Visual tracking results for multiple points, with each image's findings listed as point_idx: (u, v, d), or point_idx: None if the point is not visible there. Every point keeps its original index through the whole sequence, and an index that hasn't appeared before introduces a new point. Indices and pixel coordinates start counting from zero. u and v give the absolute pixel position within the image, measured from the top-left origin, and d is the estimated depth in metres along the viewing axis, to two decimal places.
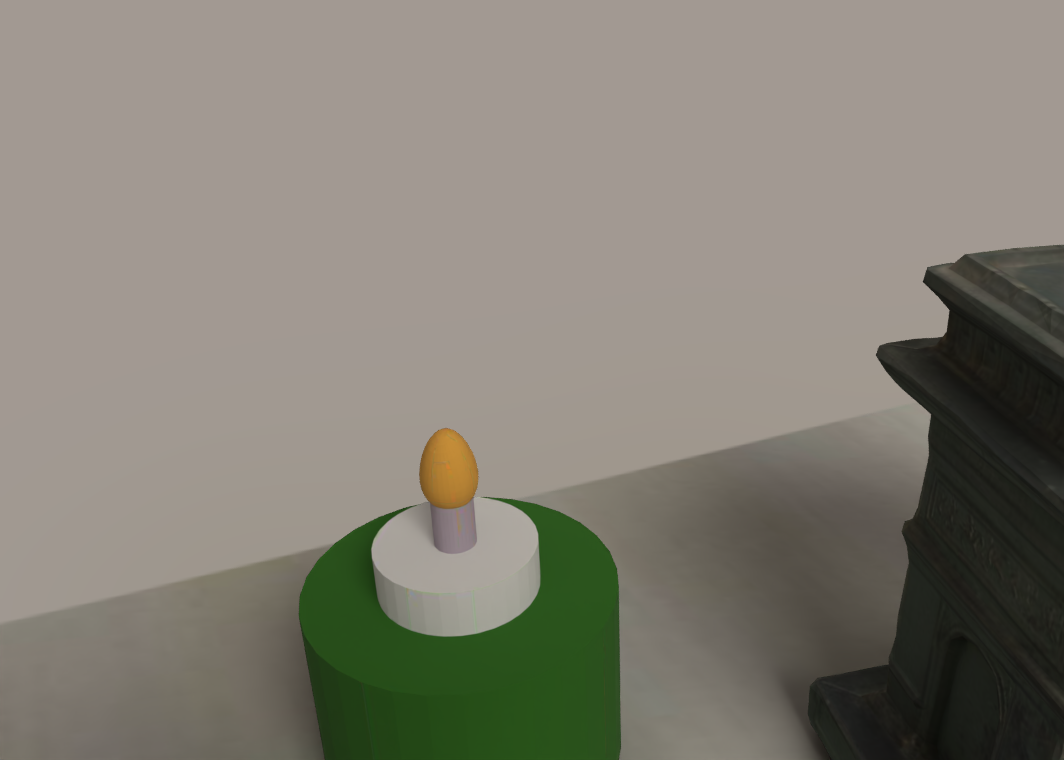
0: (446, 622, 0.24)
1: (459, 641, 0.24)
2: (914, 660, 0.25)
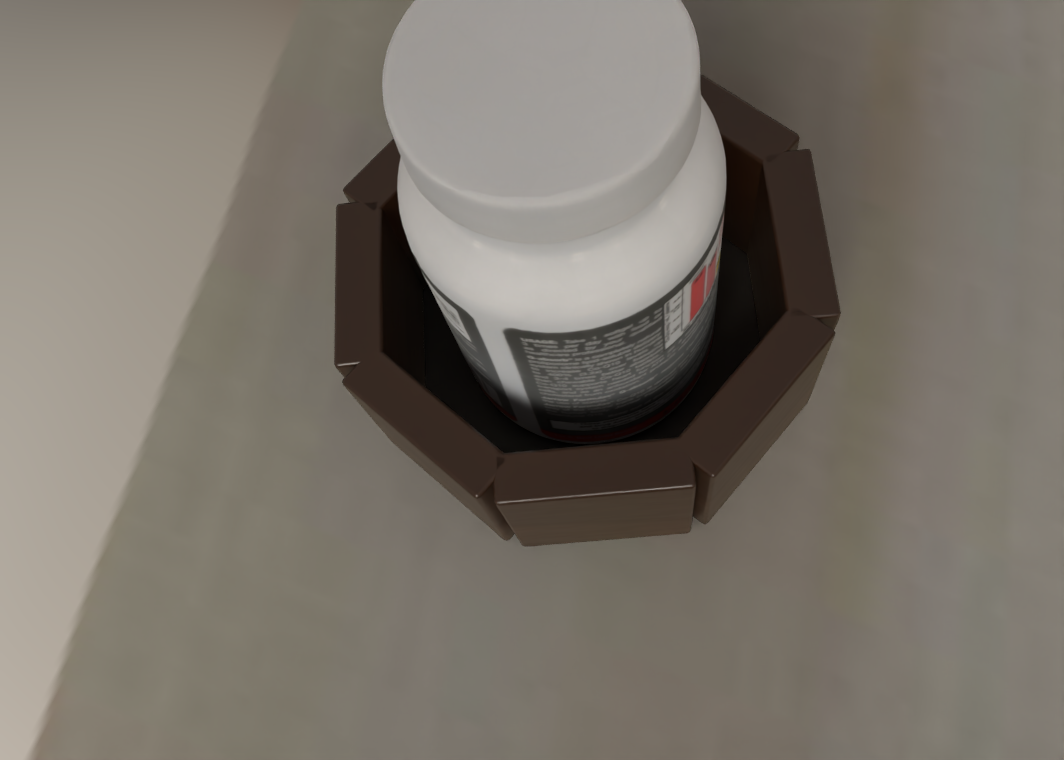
0: None
1: None
2: None
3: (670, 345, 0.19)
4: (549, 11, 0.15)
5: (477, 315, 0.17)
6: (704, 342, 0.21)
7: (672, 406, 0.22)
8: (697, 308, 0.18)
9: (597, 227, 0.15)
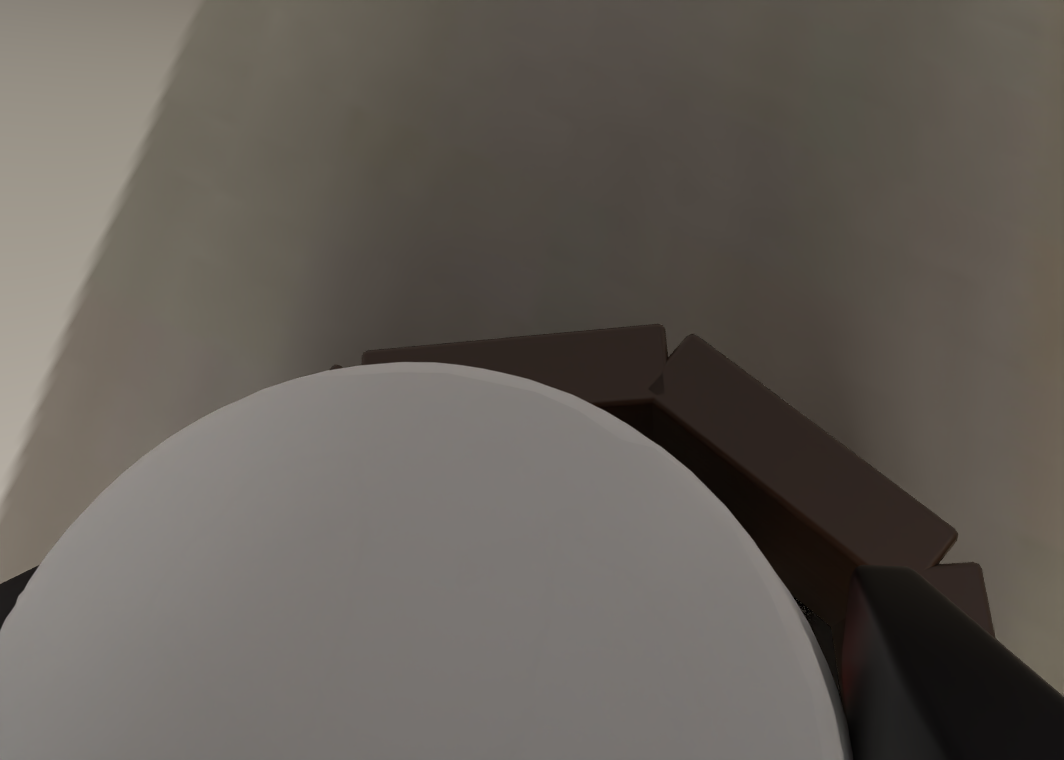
0: None
1: None
2: None
3: None
4: (415, 611, 0.05)
5: None
6: None
7: None
8: None
9: None
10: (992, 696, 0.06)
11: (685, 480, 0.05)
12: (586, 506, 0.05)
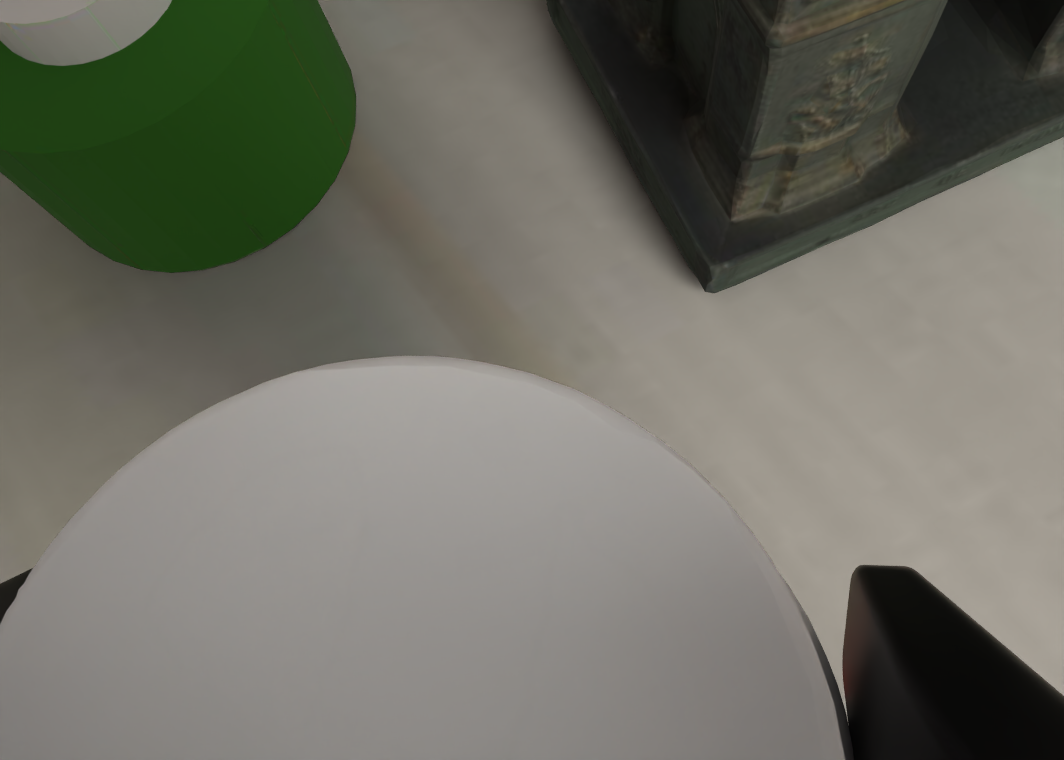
0: (77, 48, 0.20)
1: (103, 66, 0.20)
2: None
3: None
4: (415, 603, 0.05)
5: None
6: None
7: None
8: None
9: None
10: (993, 697, 0.06)
11: (685, 473, 0.05)
12: (586, 499, 0.05)
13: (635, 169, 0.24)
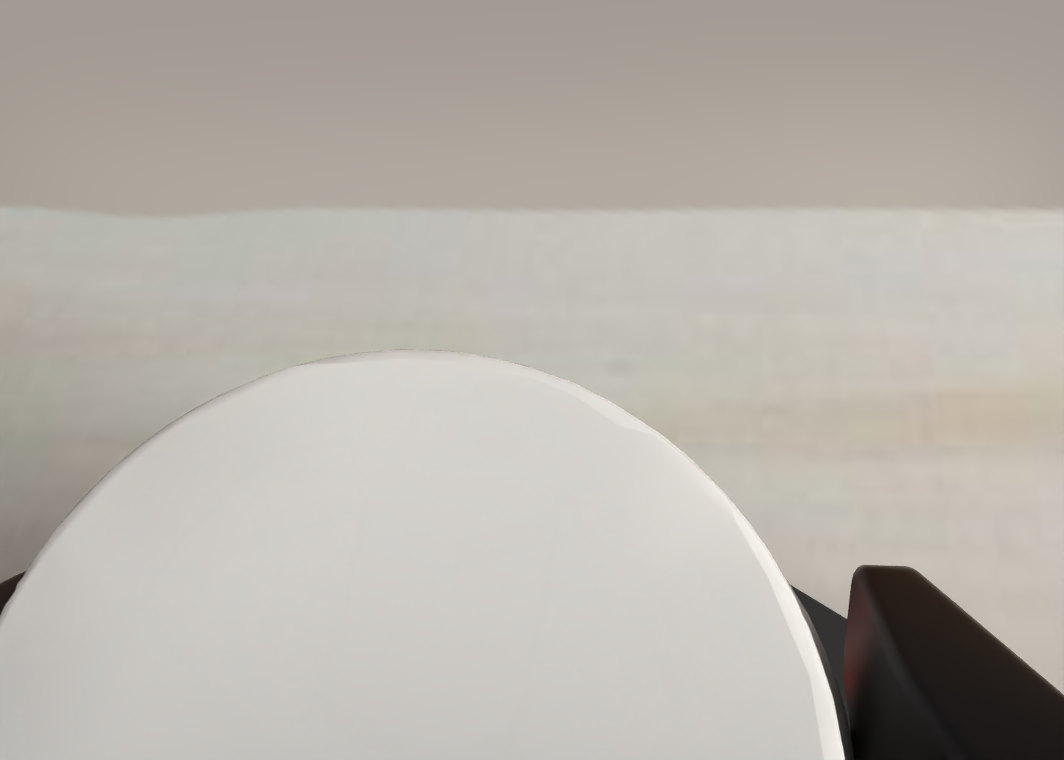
0: None
1: None
2: None
3: None
4: (414, 597, 0.05)
5: None
6: None
7: None
8: None
9: None
10: (995, 697, 0.06)
11: (684, 466, 0.05)
12: (585, 493, 0.05)
13: None
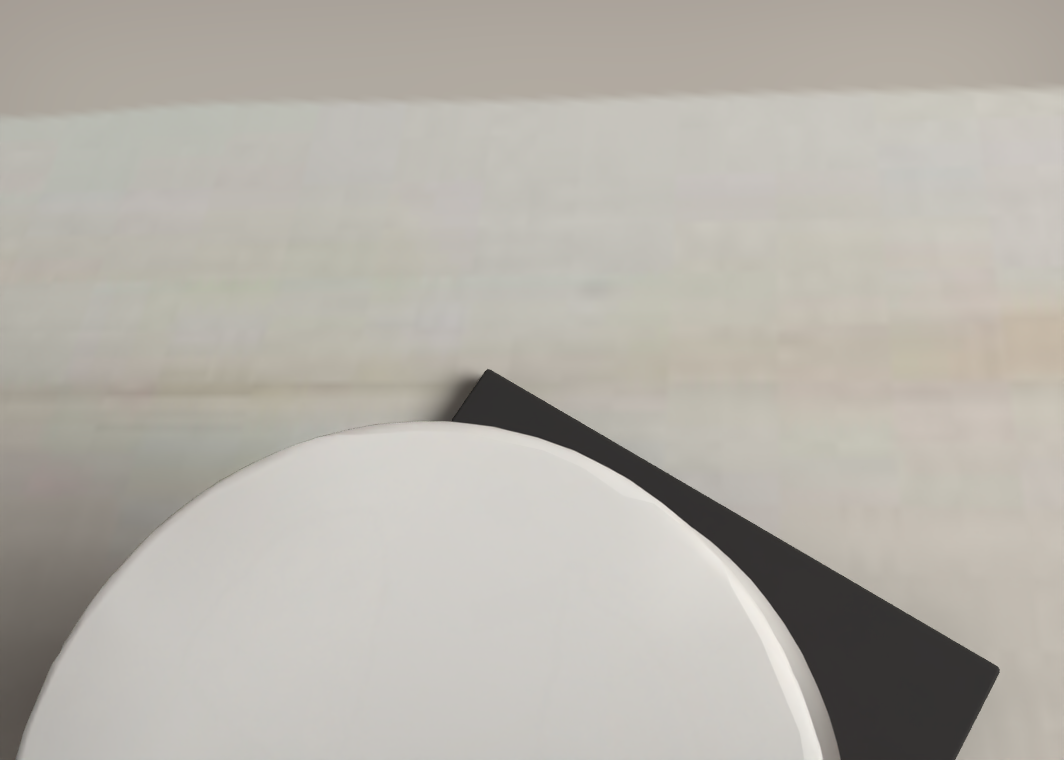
0: None
1: None
2: None
3: None
4: (434, 657, 0.06)
5: None
6: None
7: None
8: None
9: None
10: None
11: (683, 534, 0.06)
12: (591, 559, 0.06)
13: None
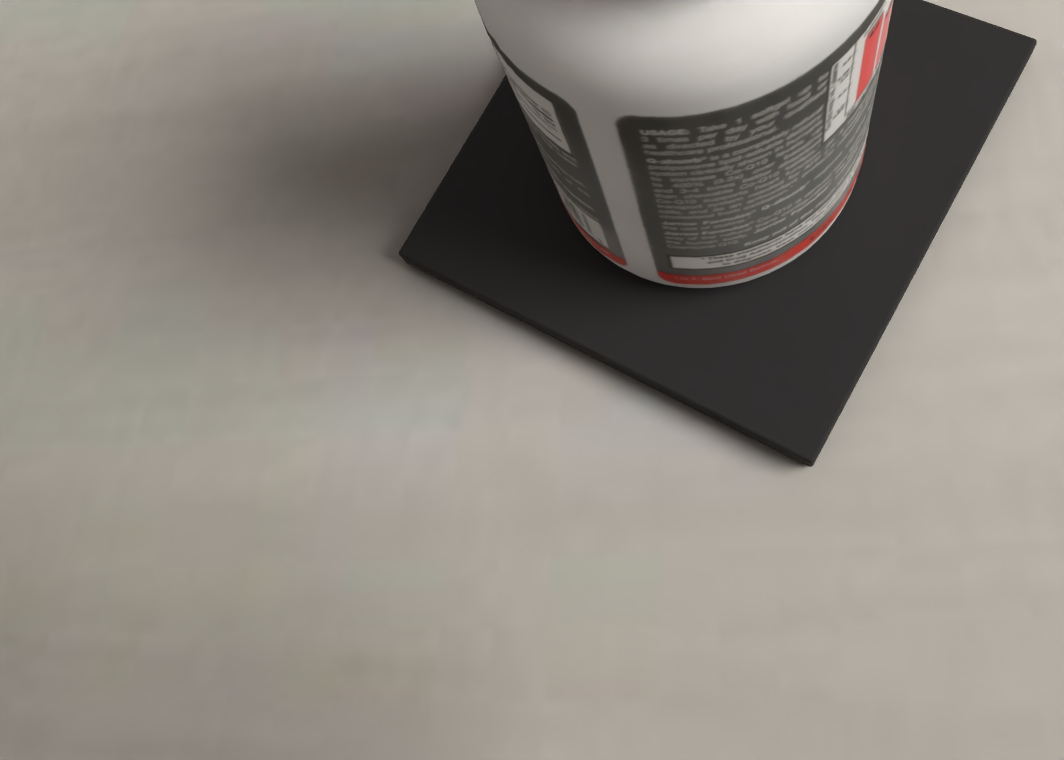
0: None
1: None
2: None
3: (830, 138, 0.14)
4: None
5: (582, 103, 0.13)
6: (862, 142, 0.16)
7: (820, 231, 0.18)
8: (865, 83, 0.14)
9: None
10: None
11: None
12: None
13: None
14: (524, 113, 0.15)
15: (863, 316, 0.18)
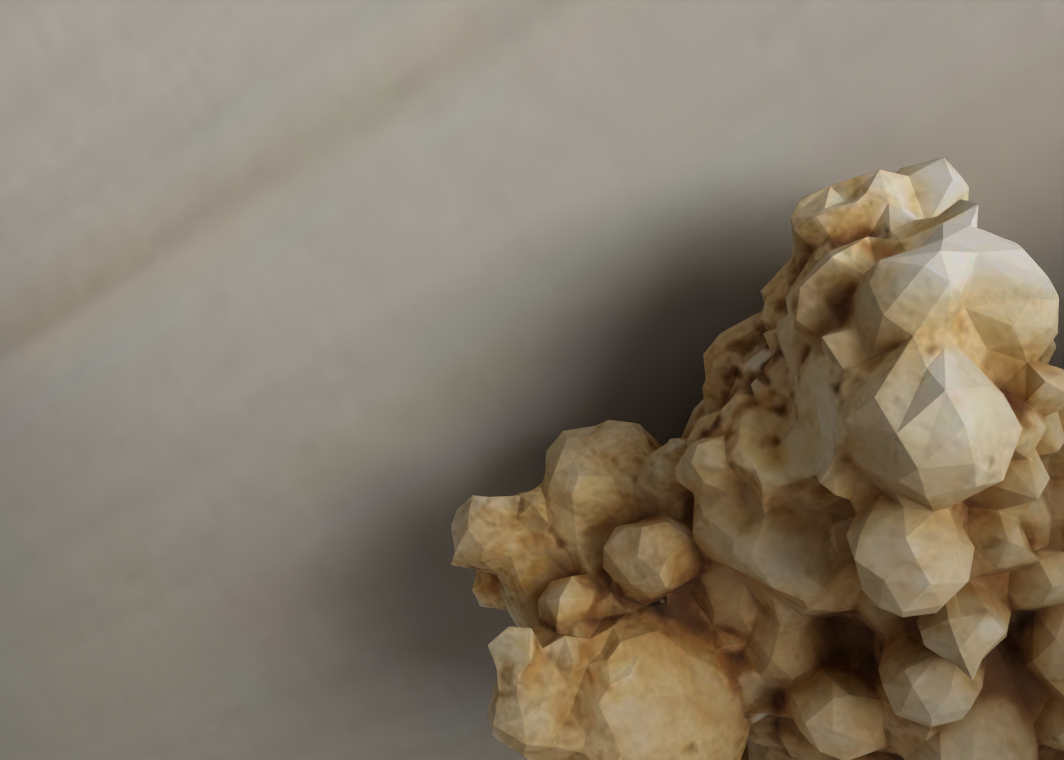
0: None
1: None
2: None
3: None
4: None
5: None
6: None
7: None
8: None
9: None
10: None
11: None
12: None
13: None
14: None
15: None
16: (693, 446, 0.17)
